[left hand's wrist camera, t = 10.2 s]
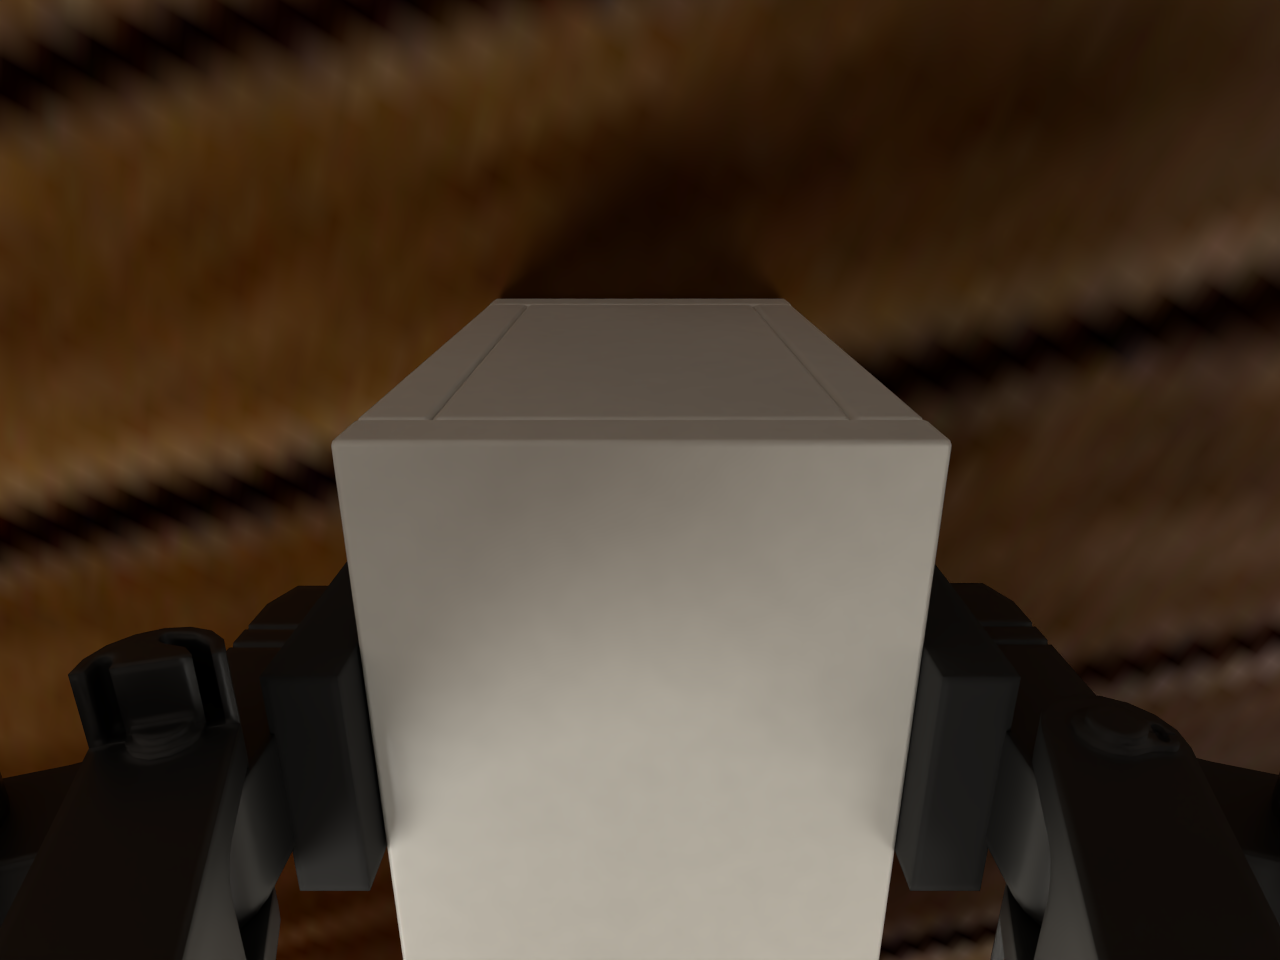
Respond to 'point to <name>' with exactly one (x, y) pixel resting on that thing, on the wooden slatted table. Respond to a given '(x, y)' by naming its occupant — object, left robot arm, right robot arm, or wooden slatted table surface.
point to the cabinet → (641, 631)
